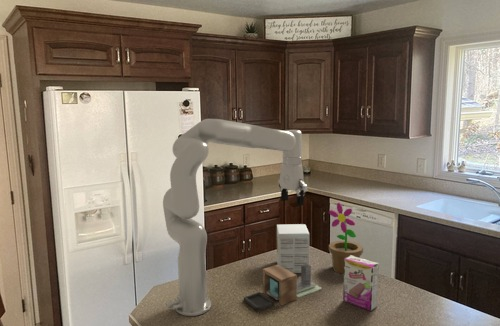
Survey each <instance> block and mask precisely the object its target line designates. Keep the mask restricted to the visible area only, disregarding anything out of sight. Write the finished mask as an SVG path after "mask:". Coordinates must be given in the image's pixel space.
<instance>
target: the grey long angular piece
mask: <svg viewBox="0 0 500 326" xmlns="http://www.w3.org/2000/svg"><path fill="white" fill-rule="evenodd" d="M311 273H312V266H311V265H310V264H309V265H308V264H304V265H301V273H300V274H301V276H300V277H301V278H300V280H297V293H298V292H301V291H304V290H307V289H310V288H313V287H315V286H316V285H317V283H315V282H313V281H311V280H312V279H311V277H312V275H311ZM266 294H267V295H269V296H270V297H271V298H273V299H275V300H276V301H279V281H277V280H275V279H274V278H270V290H269V291H267V293H266Z"/></svg>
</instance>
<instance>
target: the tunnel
mask: <svg viewBox="0 0 500 326" xmlns="http://www.w3.org/2000/svg"><path fill="white" fill-rule="evenodd" d="M297 277H298V275H297V273H292V272H290V271H288V270H287V269H285V268H283V267H281V266H279V265H278V264H275V265H271V266H268V267H265V268H262V294H263V295H266V294H267V291H269V290H270V278H274V279H275V280H277V281H279V299H278V302H279V303H278V304H279V305H280V306H283V305H285V304H288V303H293V302H294V301H297V298H298V297H297V281H298V279H297Z"/></svg>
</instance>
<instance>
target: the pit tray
mask: <svg viewBox="0 0 500 326" xmlns="http://www.w3.org/2000/svg"><path fill="white" fill-rule="evenodd" d="M243 302H244V303H245V304H247V305H248V306H249V307H251V308H252V309H254V311H256V312H261V311H264V310H266V309H269V308H272V307H274V306H275V302H274V301H273V300H271V298H269V297H268V296H266V295H265V294H264V293H261V292H260V291H258V292H256V293H253V294H250V295H247V296H243Z"/></svg>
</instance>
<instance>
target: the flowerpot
mask: <svg viewBox="0 0 500 326" xmlns="http://www.w3.org/2000/svg"><path fill="white" fill-rule="evenodd" d="M336 209H337V210H333V209H331V210H328V213H329V215H330V216H331V217H333V218H337V219H334V220H333V221H332V222H331V226H332V227H337V226H338V225H340V230H341V231H342V232H343V233H344V234H338V235H336V237H337V238H338V239H340V240H337V241H332V242H331V243H329V244H328V251H329V253H330V254H331V261H332V268H333V271H334V272H336V273H338V274H342V275H344V259H345V258H347V257H348V256H350V255H352V256H356V257H359V258H361V256H362V255H363V253H364V247H363V246H362V244H360V243H357V242H355V241H349V240H348V236H349V238H356V237H357V235H356V234H355V232H354V231H353V230H352V229H351V228H350V229H348V226H347V225H349V226H355V225H356V223H355V222H354V220H353V219H351V218H349V216H350V215H351V214H352V212H353V209H352V208H347V209H346V210H344V212H343V206H342V204H341V203H340V202H337V203H336ZM338 213H339V214H338ZM346 217H348V218H346Z"/></svg>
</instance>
